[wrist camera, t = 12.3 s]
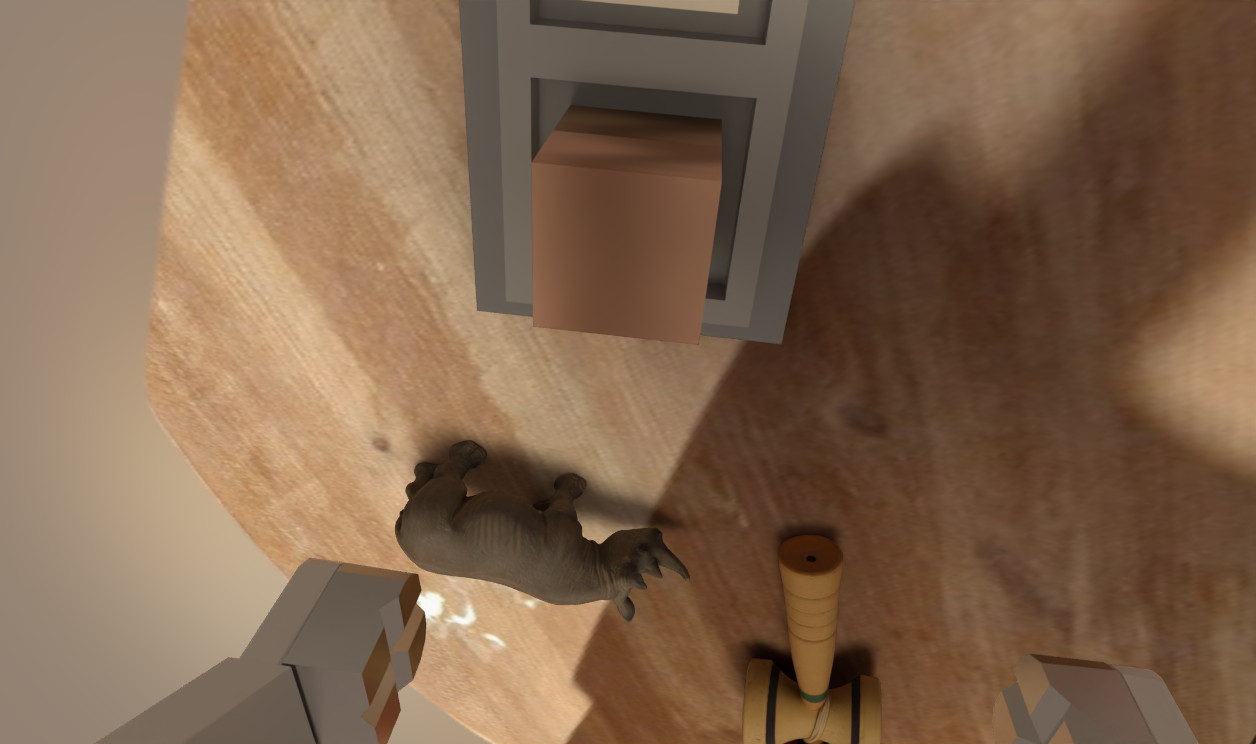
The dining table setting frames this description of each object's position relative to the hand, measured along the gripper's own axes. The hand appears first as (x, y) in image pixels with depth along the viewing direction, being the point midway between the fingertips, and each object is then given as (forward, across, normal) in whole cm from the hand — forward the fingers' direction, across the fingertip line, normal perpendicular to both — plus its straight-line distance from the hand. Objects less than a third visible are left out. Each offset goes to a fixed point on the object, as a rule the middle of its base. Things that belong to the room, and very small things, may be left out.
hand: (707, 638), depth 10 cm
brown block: (+18, +3, 0) cm, 18 cm away
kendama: (+20, -8, +26) cm, 33 cm away
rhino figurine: (+20, +6, +16) cm, 26 cm away
